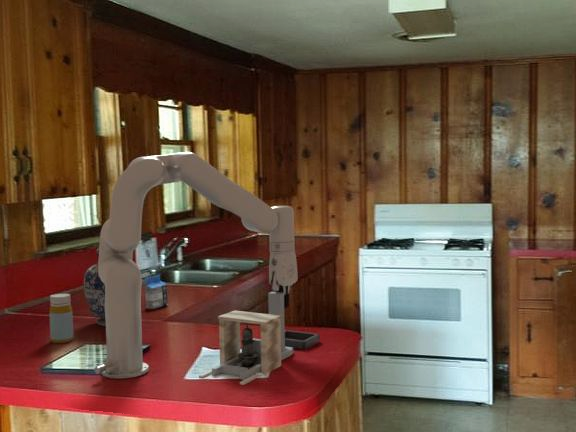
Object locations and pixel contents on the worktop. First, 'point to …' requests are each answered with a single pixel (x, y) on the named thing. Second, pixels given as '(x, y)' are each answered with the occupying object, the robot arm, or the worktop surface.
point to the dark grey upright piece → (247, 349)
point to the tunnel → (269, 337)
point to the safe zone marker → (240, 382)
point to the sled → (259, 343)
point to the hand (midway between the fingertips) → (283, 307)
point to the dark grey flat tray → (300, 339)
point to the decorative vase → (95, 293)
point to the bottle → (61, 318)
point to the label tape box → (155, 292)
